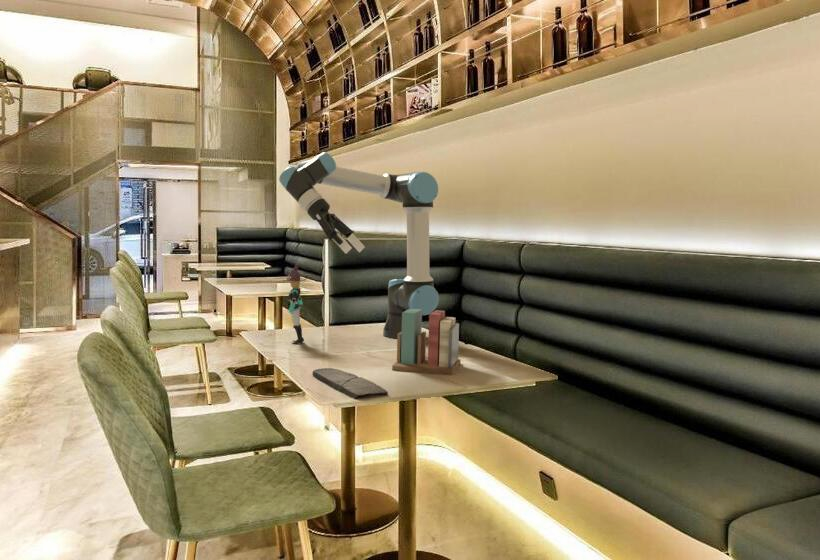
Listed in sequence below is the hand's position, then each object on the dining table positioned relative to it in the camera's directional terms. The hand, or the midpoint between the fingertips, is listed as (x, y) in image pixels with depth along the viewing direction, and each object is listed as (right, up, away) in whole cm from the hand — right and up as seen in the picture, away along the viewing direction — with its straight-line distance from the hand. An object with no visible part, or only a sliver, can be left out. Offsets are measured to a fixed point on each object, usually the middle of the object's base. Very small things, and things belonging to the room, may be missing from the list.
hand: (355, 250), depth 207 cm
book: (+19, -36, -12) cm, 42 cm away
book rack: (+24, -37, -14) cm, 47 cm away
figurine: (-25, -34, +21) cm, 47 cm away
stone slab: (+1, -40, -37) cm, 55 cm away
